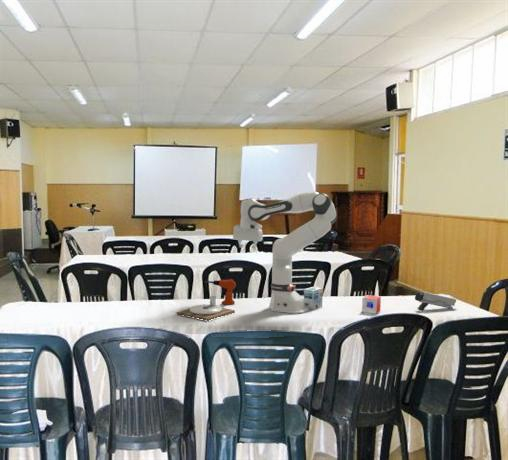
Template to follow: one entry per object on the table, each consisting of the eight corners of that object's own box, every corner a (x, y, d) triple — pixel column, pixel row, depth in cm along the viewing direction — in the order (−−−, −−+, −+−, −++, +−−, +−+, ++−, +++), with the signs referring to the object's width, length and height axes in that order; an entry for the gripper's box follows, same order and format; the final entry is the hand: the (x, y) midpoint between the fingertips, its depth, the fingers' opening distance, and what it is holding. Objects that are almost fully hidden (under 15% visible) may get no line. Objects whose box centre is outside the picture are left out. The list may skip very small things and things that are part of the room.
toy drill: (201, 301, 278) (205, 275, 277) (233, 304, 281) (237, 279, 280) (202, 303, 273) (205, 277, 272) (234, 306, 276) (238, 280, 276)
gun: (411, 307, 270) (415, 290, 270) (450, 315, 275) (454, 298, 275) (413, 308, 268) (418, 291, 267) (452, 316, 273) (457, 299, 272)
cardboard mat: (234, 312, 257) (234, 309, 257) (207, 321, 240) (207, 318, 239) (203, 306, 270) (203, 304, 270) (176, 314, 252) (176, 311, 252)
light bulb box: (313, 309, 267) (313, 290, 266) (303, 308, 271) (303, 289, 270) (322, 306, 275) (323, 287, 274) (312, 304, 279) (312, 286, 278)
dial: (210, 316, 243) (210, 304, 243) (183, 312, 251) (183, 300, 251) (227, 309, 258) (227, 297, 258) (201, 305, 266) (201, 294, 266)
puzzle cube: (380, 310, 267) (380, 296, 266) (376, 313, 260) (376, 299, 259) (366, 308, 271) (366, 294, 270) (361, 311, 264) (362, 297, 263)
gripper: (231, 224, 294) (230, 247, 295) (258, 226, 282) (258, 249, 283) (237, 224, 299) (237, 246, 300) (264, 225, 287) (264, 248, 288)
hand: (247, 247), depth 291 cm, fingers open, 8 cm apart
